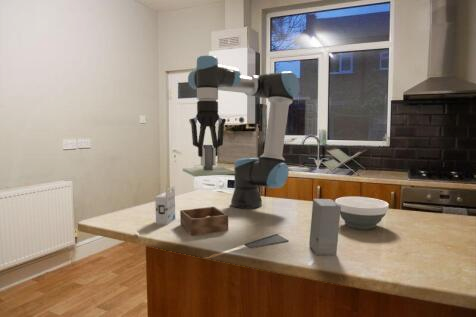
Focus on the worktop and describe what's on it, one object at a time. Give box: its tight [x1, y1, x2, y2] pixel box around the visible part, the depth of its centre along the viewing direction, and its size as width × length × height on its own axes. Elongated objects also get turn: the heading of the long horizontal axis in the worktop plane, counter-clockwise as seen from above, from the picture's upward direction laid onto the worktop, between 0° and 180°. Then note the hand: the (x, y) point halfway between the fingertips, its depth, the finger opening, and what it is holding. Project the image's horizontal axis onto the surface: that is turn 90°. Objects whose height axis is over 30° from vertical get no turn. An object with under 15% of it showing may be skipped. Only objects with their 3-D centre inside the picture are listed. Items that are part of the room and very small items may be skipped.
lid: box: [182, 144, 235, 178], centre depth 122 cm, size 15×15×10 cm
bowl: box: [334, 196, 389, 231], centre depth 130 cm, size 20×20×10 cm
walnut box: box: [179, 206, 229, 237], centre depth 125 cm, size 14×14×6 cm
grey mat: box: [244, 233, 289, 249], centre depth 116 cm, size 15×15×1 cm
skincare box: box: [308, 198, 341, 256], centre depth 104 cm, size 8×7×16 cm
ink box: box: [154, 185, 176, 226], centre depth 133 cm, size 9×5×15 cm, turn 168°
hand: (208, 165), depth 122 cm, fingers closed on lid, 3 cm apart
